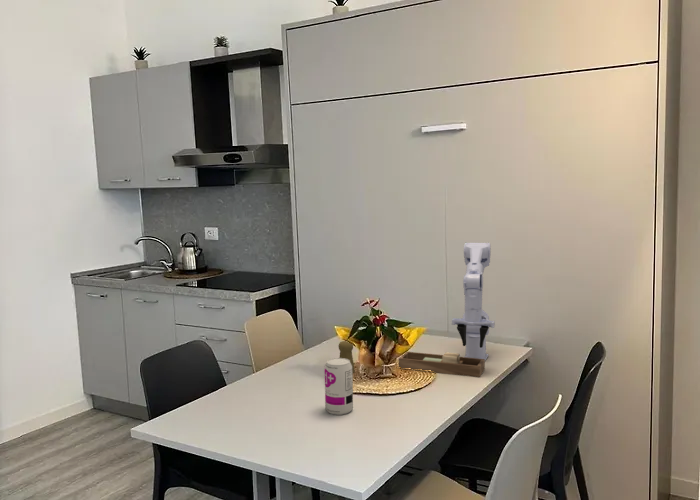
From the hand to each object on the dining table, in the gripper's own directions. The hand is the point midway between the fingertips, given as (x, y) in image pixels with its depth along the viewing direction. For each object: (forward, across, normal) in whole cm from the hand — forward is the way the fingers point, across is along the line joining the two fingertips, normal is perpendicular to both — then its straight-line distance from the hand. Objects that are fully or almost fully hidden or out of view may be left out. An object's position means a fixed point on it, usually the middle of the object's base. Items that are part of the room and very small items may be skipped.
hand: (472, 346), depth 217 cm
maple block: (+7, -8, 0) cm, 10 cm away
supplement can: (+10, -30, -48) cm, 58 cm away
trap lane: (+9, -11, 0) cm, 15 cm away
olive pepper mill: (+10, -42, -14) cm, 45 cm away
